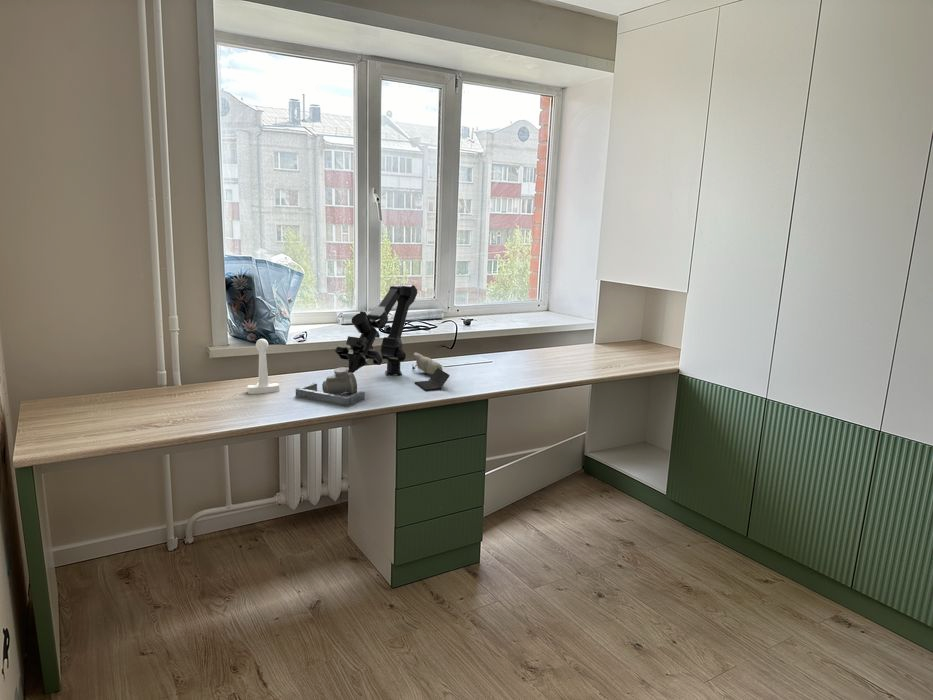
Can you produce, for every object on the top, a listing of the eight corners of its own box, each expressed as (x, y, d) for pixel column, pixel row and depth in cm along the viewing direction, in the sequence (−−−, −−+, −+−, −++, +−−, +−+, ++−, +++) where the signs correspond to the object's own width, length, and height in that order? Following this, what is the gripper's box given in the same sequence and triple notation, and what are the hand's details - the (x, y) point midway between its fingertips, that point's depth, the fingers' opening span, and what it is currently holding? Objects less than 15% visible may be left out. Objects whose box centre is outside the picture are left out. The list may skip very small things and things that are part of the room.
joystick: (248, 394, 228) (246, 340, 224) (246, 389, 235) (244, 336, 231) (280, 391, 233) (278, 339, 229) (276, 386, 240) (275, 335, 236)
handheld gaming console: (409, 380, 249) (426, 358, 250) (422, 389, 254) (438, 368, 255) (425, 392, 240) (443, 369, 241) (438, 402, 245) (455, 379, 246)
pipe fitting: (352, 388, 239) (350, 363, 235) (359, 395, 232) (356, 370, 229) (321, 395, 234) (318, 369, 230) (327, 402, 227) (324, 376, 224)
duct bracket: (313, 390, 237) (313, 382, 236) (364, 399, 227) (364, 391, 226) (295, 396, 228) (295, 388, 227) (348, 407, 218) (348, 398, 217)
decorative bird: (435, 379, 259) (436, 360, 257) (409, 371, 271) (409, 353, 269) (446, 377, 263) (446, 358, 261) (419, 369, 275) (420, 351, 273)
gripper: (337, 325, 241) (319, 358, 234) (378, 330, 234) (361, 365, 226) (349, 342, 250) (332, 374, 242) (389, 347, 242) (373, 381, 235)
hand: (349, 373), depth 236 cm, fingers closed
